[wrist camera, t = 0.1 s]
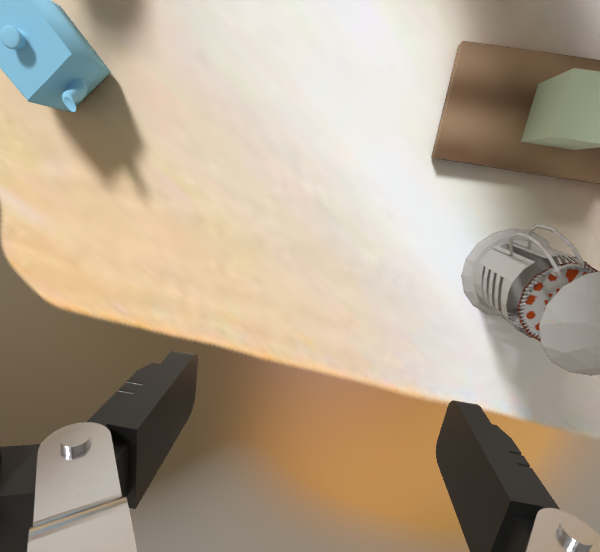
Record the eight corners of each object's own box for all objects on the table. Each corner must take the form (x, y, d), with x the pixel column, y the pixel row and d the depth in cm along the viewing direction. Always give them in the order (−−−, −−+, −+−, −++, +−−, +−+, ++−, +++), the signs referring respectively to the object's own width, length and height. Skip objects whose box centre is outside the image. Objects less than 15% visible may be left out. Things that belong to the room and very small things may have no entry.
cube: (538, 83, 33) (574, 67, 28) (594, 91, 32) (640, 77, 28) (520, 141, 34) (551, 136, 29) (574, 149, 34) (614, 145, 29)
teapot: (138, 103, 37) (92, 86, 30) (98, 140, 39) (45, 132, 31) (56, -3, 35) (-14, -50, 28) (18, 40, 37) (-59, 7, 29)
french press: (478, 329, 41) (689, 550, 17) (442, 237, 38) (628, 341, 14) (568, 295, 39) (951, 489, 15) (536, 196, 36) (932, 237, 12)
